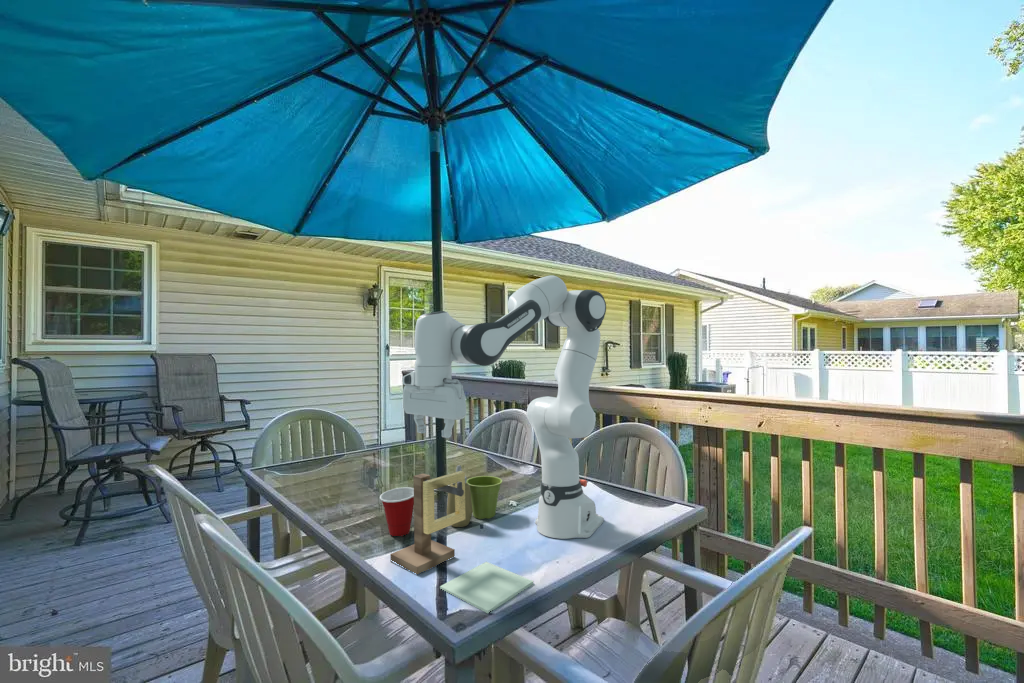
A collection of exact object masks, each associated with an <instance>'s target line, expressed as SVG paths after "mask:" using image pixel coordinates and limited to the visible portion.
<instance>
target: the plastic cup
mask: <svg viewBox="0 0 1024 683" xmlns="http://www.w3.org/2000/svg"><path fill="white" fill-rule="evenodd" d="M379 500H380V501H381V502H382V506H383V508H384V514H385V519H386V524H387V527H388V533H389V535H390V536H391V535H392V536H391V537H393V536H401V537H404V536H403V535H405V536H407V535H409V534H410V531H411V525H412V518H413V515H414V487H410V486H409V487H408V486H407V487H406V486H405V487H396V488H392V489H388V490H386V491H384V492H382V493H381V494H380V495H379ZM406 534H407V535H406Z"/></svg>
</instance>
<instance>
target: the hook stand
mask: <svg viewBox="0 0 1024 683" xmlns="http://www.w3.org/2000/svg"><path fill="white" fill-rule="evenodd" d="M427 480H431V474H426V473H419V474H415V475H413V488H414V506H413V529H414V531H413V533H414V534H413V537H414V538H413V539H414V542H413V544H411V545H408V546H406V547H404V548H401V549H399V550H397V551H394V552H392V553H390V561H391V560H392V561H394V562H396V563H397V564H399V565H401V566H403V567H404V568H406V569H408V570H410V571H412V572H414V573H416V574H419V573H421V572H423V571H425V572H427V571H429V570H431V569H433V568H432V567H434V568H435V566H436V565H438V564H440V563H442V562H444V561H446V560H448V559H450V558H452V557H454V556H456V555H455V554H456V553H455V551H456V550H455V549H454V548H452V547H451V546H447V545H445V544H442V543H440V542H437V541H435V540H432V533H431V534H425V533H424V525H423V482H424V481H427ZM436 490H439V491H440V492H445V493H447V494H448V493H451V494H454V495H458V496H463V494H464V490H463V489H462V482H457V488H455V487H452V486H450V485H447V486H443V487H440V488H437V489H436ZM454 558H455V557H454ZM452 559H453V558H452ZM450 560H451V559H450ZM448 561H449V560H448ZM446 562H447V561H446ZM444 563H445V562H444ZM442 564H443V563H442ZM440 565H441V564H440ZM438 566H439V565H438ZM436 567H437V566H436ZM404 568H403V569H404ZM430 568H431V569H430ZM406 569H405V570H406ZM428 569H429V570H428ZM408 570H407V571H408ZM426 570H427V571H426ZM423 573H424V572H423ZM421 574H422V573H421ZM419 575H420V574H419Z"/></svg>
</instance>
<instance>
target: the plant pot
mask: <svg viewBox="0 0 1024 683" xmlns="http://www.w3.org/2000/svg"><path fill="white" fill-rule="evenodd" d="M466 483H468V484H469V485H470V492H471V501H472V510H473V512H472V515H473V517H474V518H475V519H479V520H483V519H491V518H493V517H495V516H496V511H497V505H498V499H499V492H500V489H501V484H502V483H503V479H502V478H500V477H498V476H491V475H481V476H480V475H479V476H473V477H469V478H467V482H466Z"/></svg>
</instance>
